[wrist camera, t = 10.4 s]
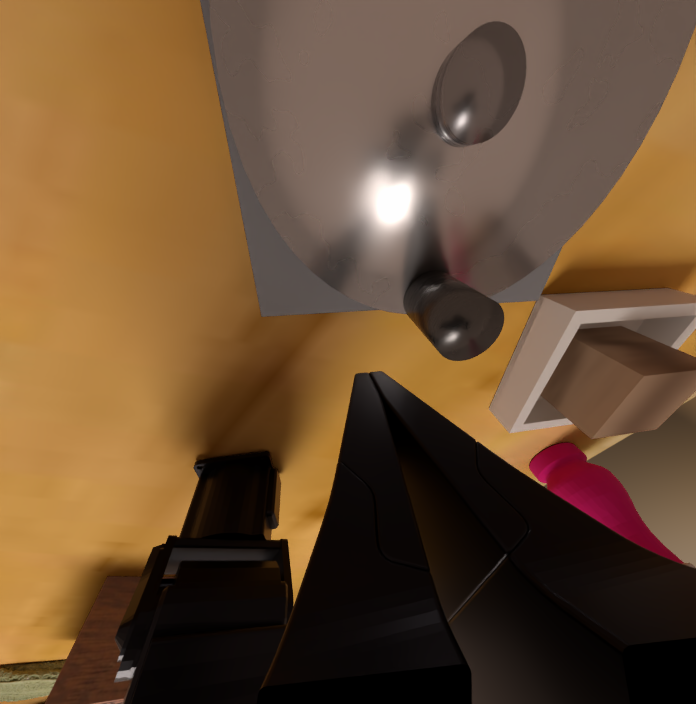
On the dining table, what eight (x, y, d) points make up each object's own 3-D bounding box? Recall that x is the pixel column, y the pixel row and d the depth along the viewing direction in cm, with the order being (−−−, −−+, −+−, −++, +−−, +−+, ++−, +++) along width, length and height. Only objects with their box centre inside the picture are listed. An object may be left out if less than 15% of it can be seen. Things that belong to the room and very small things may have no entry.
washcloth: (-3, 660, 41) (-24, 693, 38) (125, 650, 49) (115, 677, 46) (-8, 680, 46) (-27, 710, 43) (109, 668, 53) (99, 693, 51)
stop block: (530, 386, 24) (591, 439, 19) (560, 330, 20) (643, 376, 15) (584, 380, 25) (656, 429, 20) (621, 325, 21) (719, 367, 16)
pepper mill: (520, 458, 32) (756, 746, 15) (576, 431, 31) (902, 716, 14) (529, 479, 36) (728, 728, 19) (580, 456, 34) (840, 703, 18)
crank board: (263, 310, 16) (260, 318, 15) (115, -482, 6) (71, -643, 5) (527, 295, 19) (541, 302, 18) (757, -257, 8) (826, -323, 7)
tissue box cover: (108, 573, 31) (40, 711, 23) (227, 575, 37) (206, 685, 29) (83, 637, 41) (29, 749, 33) (179, 630, 47) (154, 724, 39)
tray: (488, 409, 25) (509, 433, 23) (539, 294, 19) (576, 311, 16) (589, 396, 27) (618, 417, 25) (668, 287, 20) (718, 301, 18)
